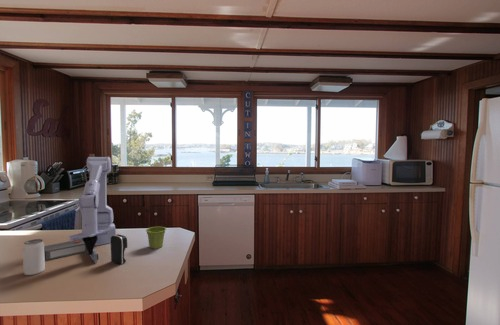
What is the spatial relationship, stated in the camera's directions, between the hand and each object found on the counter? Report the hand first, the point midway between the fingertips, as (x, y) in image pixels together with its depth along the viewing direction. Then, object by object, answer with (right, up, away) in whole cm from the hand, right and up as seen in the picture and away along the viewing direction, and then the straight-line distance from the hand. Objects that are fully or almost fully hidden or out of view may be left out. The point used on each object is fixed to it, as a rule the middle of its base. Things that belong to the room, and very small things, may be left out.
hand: (90, 254), depth 115 cm
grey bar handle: (-1, -2, +4) cm, 5 cm away
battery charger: (+13, -3, -1) cm, 13 cm away
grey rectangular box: (-16, -2, +8) cm, 18 cm away
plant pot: (+22, -2, +17) cm, 28 cm away
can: (-15, -4, -10) cm, 19 cm away
